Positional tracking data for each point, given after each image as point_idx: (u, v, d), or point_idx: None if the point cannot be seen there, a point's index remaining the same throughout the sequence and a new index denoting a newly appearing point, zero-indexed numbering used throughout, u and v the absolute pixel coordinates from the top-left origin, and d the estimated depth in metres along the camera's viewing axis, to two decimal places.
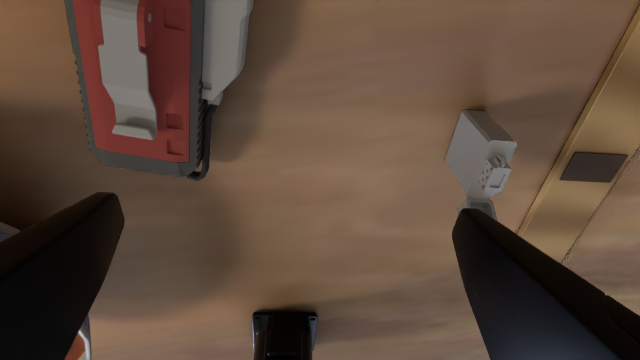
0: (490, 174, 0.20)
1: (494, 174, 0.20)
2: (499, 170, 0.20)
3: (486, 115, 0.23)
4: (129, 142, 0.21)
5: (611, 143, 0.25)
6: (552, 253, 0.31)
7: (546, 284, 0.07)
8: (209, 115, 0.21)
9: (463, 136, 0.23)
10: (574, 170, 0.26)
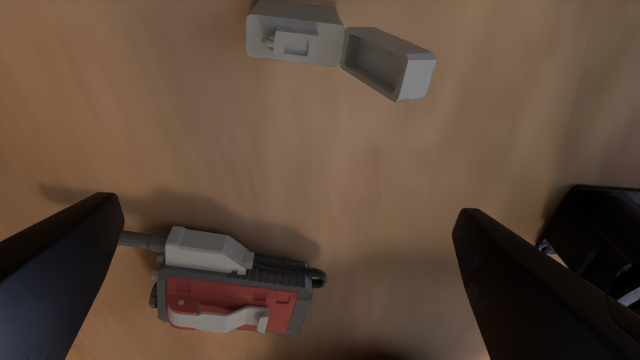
0: (286, 58, 0.15)
1: (285, 54, 0.14)
2: (278, 49, 0.14)
3: None
4: (278, 320, 0.28)
5: None
6: None
7: (546, 284, 0.07)
8: (263, 268, 0.27)
9: None
10: None
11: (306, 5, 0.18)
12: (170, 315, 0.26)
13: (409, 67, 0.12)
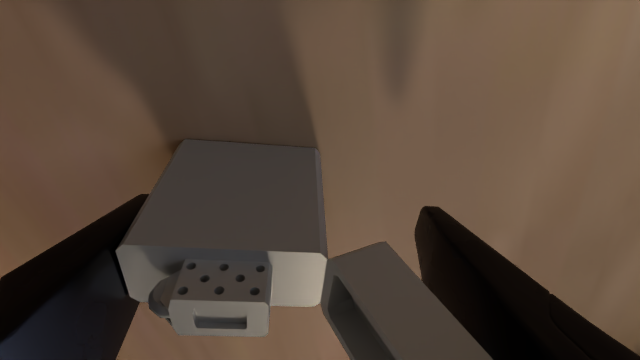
0: (204, 330, 0.07)
1: (200, 327, 0.07)
2: (182, 322, 0.07)
3: None
4: None
5: None
6: None
7: (491, 282, 0.06)
8: None
9: None
10: None
11: (264, 149, 0.10)
12: None
13: None
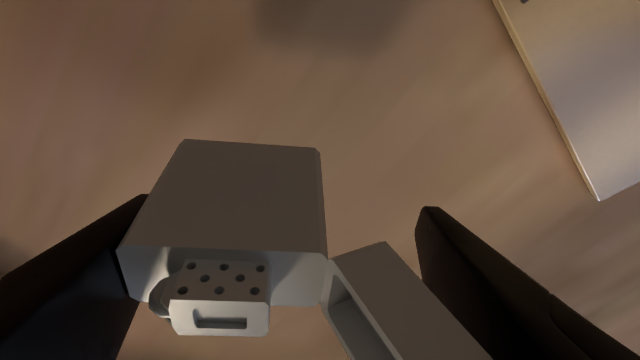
0: (204, 330, 0.07)
1: (200, 327, 0.07)
2: (182, 321, 0.07)
3: None
4: None
5: None
6: None
7: (491, 282, 0.06)
8: None
9: None
10: None
11: (264, 149, 0.10)
12: None
13: None
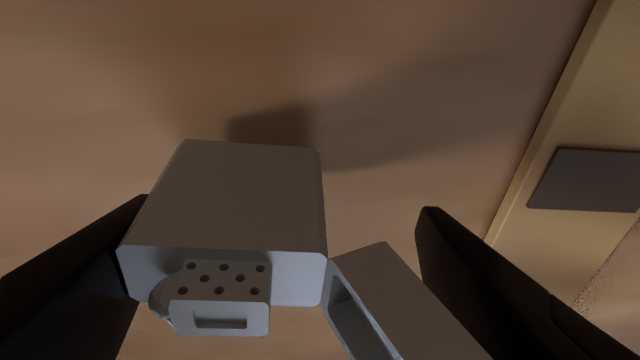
0: (204, 330, 0.07)
1: (200, 327, 0.07)
2: (182, 322, 0.07)
3: None
4: None
5: None
6: None
7: (491, 282, 0.06)
8: None
9: None
10: (557, 186, 0.12)
11: (264, 149, 0.10)
12: None
13: None
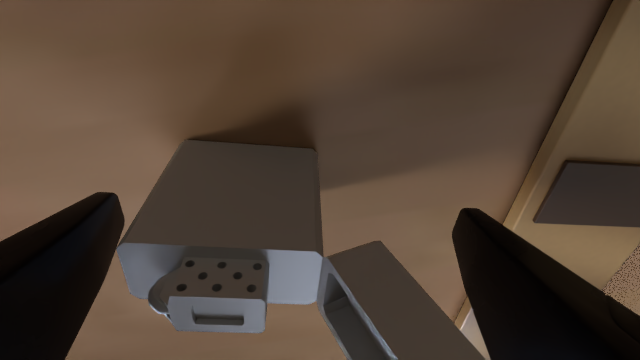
0: (202, 326, 0.07)
1: (198, 323, 0.07)
2: (181, 318, 0.07)
3: None
4: None
5: None
6: None
7: (546, 284, 0.07)
8: None
9: None
10: (565, 201, 0.11)
11: (262, 150, 0.10)
12: None
13: None
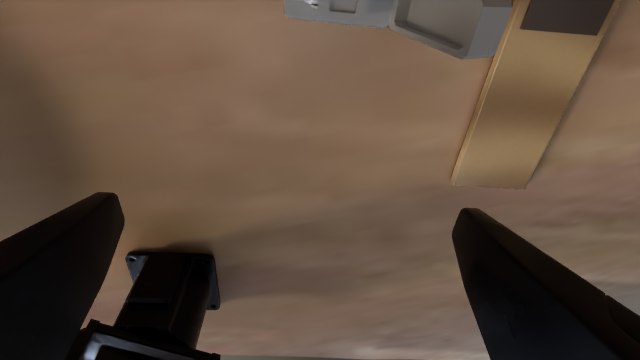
0: (331, 17, 0.13)
1: (330, 11, 0.13)
2: (323, 5, 0.13)
3: None
4: None
5: None
6: (518, 162, 0.22)
7: (546, 284, 0.07)
8: None
9: None
10: (541, 9, 0.17)
11: None
12: None
13: (483, 15, 0.10)
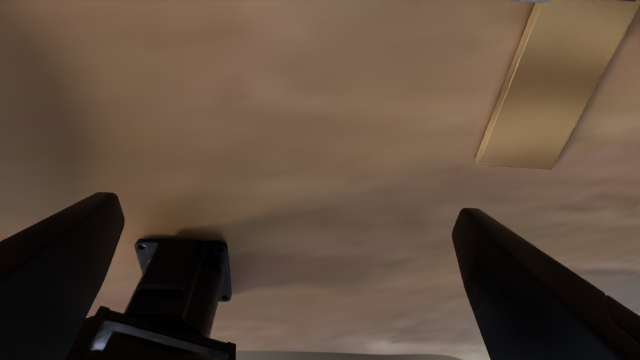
0: None
1: None
2: None
3: None
4: None
5: None
6: (547, 140, 0.21)
7: (546, 284, 0.07)
8: None
9: None
10: None
11: None
12: None
13: None
